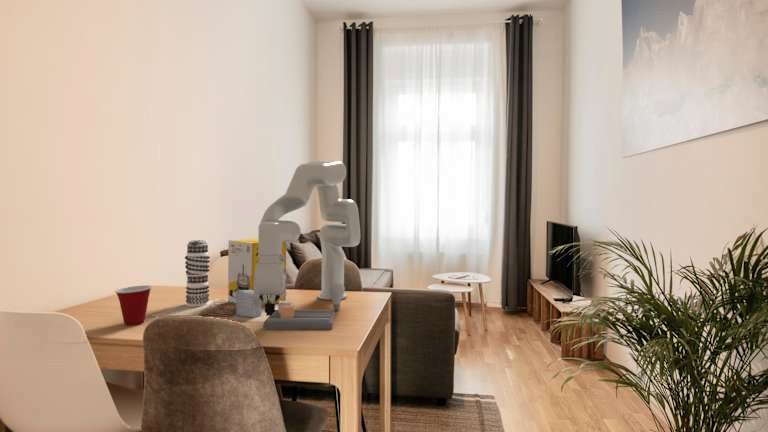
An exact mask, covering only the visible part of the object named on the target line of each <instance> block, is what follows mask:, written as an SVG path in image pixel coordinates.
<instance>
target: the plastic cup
mask: <svg viewBox="0 0 768 432" xmlns="http://www.w3.org/2000/svg"><path fill="white" fill-rule="evenodd" d="M152 288H153V286H152V285H134V286H133V285H132V286H126V287H122V288H118V289H116V290H114V293H116V295H117V298H118V301H119V306H120V311H121V315H122V318H123V319H122V320H123V323H124V325H125V326H138V325H142V324H144V323H145V320H146V314H147V310H148V309H147V308H148V302H149V298H150V293H151V289H152Z"/></svg>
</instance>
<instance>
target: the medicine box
mask: <svg viewBox="0 0 768 432" xmlns="http://www.w3.org/2000/svg"><path fill="white" fill-rule="evenodd" d="M253 294H254V291H252V290H241V291H238V292H236V304H235V308H236V310H235V314H236V316H239V315H240V316H241V317H246V316H247V317H248V318H253V317H254V318H256V316H257V317H259V315H260V316H261V315H262V306H261V299H260V298H256V297H254V296H253Z"/></svg>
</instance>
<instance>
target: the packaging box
mask: <svg viewBox="0 0 768 432" xmlns="http://www.w3.org/2000/svg"><path fill="white" fill-rule="evenodd" d="M227 245H228V246H227V247H228V249H227V250H228V253H227V254H228V260H227V261H228V272H227V275H228V278H227V280H228V281H227V282H228V286H227V287H228V288H227V289H228V290H227V295H228V296H227V301H231V302H234V303H233V304H235V303H236V292H238V291H241V290H252V291H254V275H255V268H256V264H257V263H258V238H245V239H243V238H242V239H230V240H229V239H228V244H227ZM282 255H283V256H286V257H287V243H284V242H282ZM282 263H284V265H285V271H286V272H287V259H286V260H284V261H282ZM277 295H278V294H277ZM268 297H269V301H271V298H272V294H268ZM286 297H287V296H286ZM286 297H283V298H279V299H278V300H277V301H276V302H275V304H278V303H279V301H287V299H286ZM231 302H230V303H231ZM263 306H264V307H265V304H264V302H263V301H262V300H261V307H263Z"/></svg>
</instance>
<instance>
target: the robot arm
mask: <svg viewBox="0 0 768 432" xmlns="http://www.w3.org/2000/svg"><path fill="white" fill-rule="evenodd" d="M346 177H347V168H346V165H345V164H344V163H343V162H342V161H339V160H338V161H337V160H336V161H335V160H333V161H330V160H329V161H321V160H320V161H318V160H317V161H310V162H307V163H302V164H299V165H298V166H296V169H295V171H294V173H293V175H292V178H291V180H290V182H289V185H288V187H287V189H286V192H285V193H284V195H282V196H280V197H279V198H277V199H276V200H275V201H273V202H272V204H270V205H269V206H268V207H267V209H266V210H264V213H263V215H262V217H261V220H260V222H259V225H258V234H257V236H258V263H257V264H256V268H255V275H254V294H253V296H254V297H256V298H260V299H261V300H262V301H263V302H264V304H265V306H264V313H266V315H265V316H266V317H267V316H268V317H269V316H272V314H273V313H274V312H275V310H276V303H275V302H276V301H277V300H278V299H279V298H283V297H287V291H286V290H287V273H286V272H287V270H286V271H285V265H284V263H282V261H284V260H286V261H287V255H286V256H283V255H282V242H284V243H286V244H287V243H289V244H290V243H294V242H296V241H297V240H298V239H299V237H300V235H301V227H300V225H299V224H298V223H297V222H295V221H292V220H281V218H282V217H283V216H285V215H287V214H289V213H292V212H294V211H296V210H297V211H298V210H299V209H301V208H304V207H305V206H307V204H308V203H309V200H310V197H311V195H312V192H313V190H314V187H315V188H316V191H317V196H318V202H319V211H320V216H321V219H322V220H323V221H325V222H331V223H326V224H324V225H322V226H321V228H320V230H319V240H320V247H321V292H320V293H317V298H318V299H319V300H320V299H321V300H325V301H326V300H327V301H332V297H331V295H330V293H329V286H330V284H331V283H333V282H335V281H338V282H341V283H342V284H343V285H344V284H345V278H344V277H345V255H344V252H343V250H342V249H341V247H346V248H348V247H349V248H353V247H357V246H358V245H359V244H360V242H361V237H362V236H361V225H360V214H359V207H358V205H357V202H356V201H354V200H352V199H343V198H340V192H339V186H338V184H341V183H342V182H343V181H345V179H346ZM344 286H345V285H344ZM268 294H272V298H271V301H269V297H268ZM277 294H278V295H277ZM347 297H348V293H346V292H344V294H343V296H342V298H341V300H344V299H347Z"/></svg>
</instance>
